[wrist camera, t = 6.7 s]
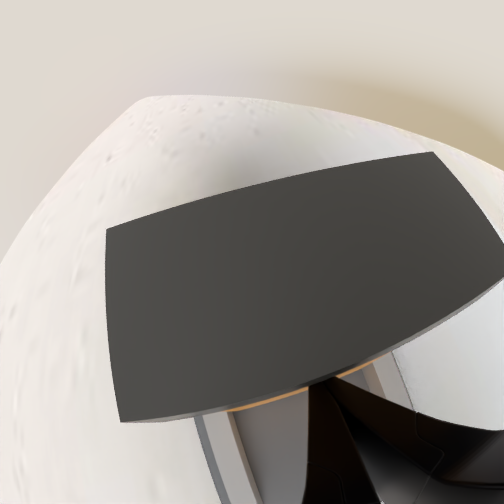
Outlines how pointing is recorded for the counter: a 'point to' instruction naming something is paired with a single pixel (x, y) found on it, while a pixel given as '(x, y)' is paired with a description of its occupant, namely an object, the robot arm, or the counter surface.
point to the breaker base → (278, 440)
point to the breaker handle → (288, 284)
